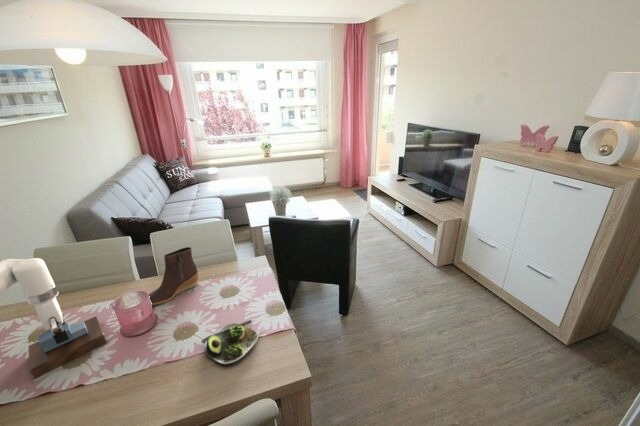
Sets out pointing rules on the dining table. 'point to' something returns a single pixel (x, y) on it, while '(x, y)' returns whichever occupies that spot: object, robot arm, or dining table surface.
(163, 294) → the boot
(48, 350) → the stepped blue block
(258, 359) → the dining table surface
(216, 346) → the salad plate
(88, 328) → the brown wooden block
